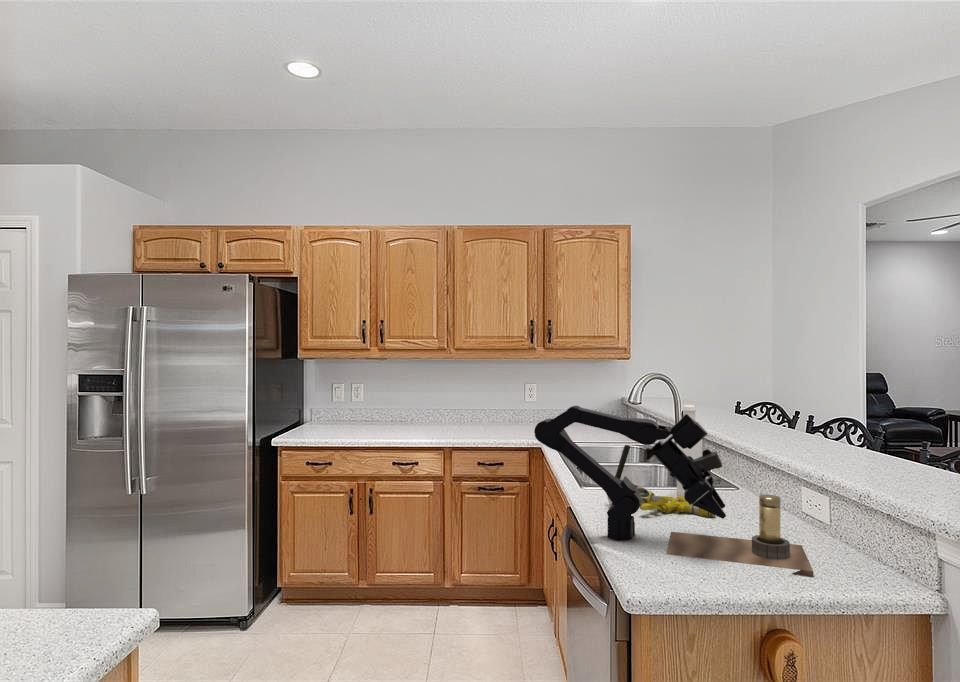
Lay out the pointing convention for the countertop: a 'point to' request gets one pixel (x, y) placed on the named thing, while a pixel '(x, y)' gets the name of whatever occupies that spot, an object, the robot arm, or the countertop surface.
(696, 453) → the bottle
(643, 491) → the butterfly valve
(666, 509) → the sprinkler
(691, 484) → the robot arm
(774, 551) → the board
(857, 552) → the countertop surface
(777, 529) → the brass fitting
